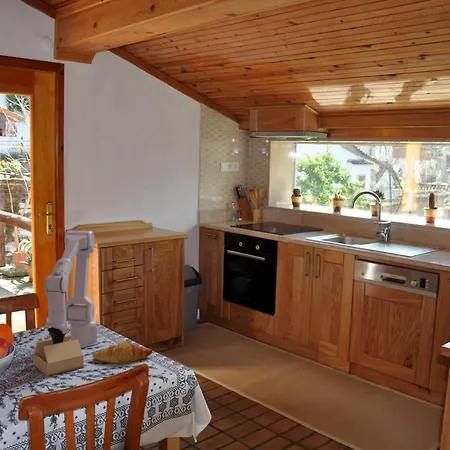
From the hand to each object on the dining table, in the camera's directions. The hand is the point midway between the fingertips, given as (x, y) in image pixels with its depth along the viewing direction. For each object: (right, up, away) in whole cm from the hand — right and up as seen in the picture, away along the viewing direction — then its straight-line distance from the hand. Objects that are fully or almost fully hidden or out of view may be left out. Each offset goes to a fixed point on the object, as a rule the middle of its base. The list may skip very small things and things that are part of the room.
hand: (58, 347), depth 188 cm
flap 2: (+3, -1, -3) cm, 4 cm away
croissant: (+21, -6, +9) cm, 23 cm away
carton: (0, -6, +1) cm, 7 cm away
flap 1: (-3, +1, +3) cm, 4 cm away
